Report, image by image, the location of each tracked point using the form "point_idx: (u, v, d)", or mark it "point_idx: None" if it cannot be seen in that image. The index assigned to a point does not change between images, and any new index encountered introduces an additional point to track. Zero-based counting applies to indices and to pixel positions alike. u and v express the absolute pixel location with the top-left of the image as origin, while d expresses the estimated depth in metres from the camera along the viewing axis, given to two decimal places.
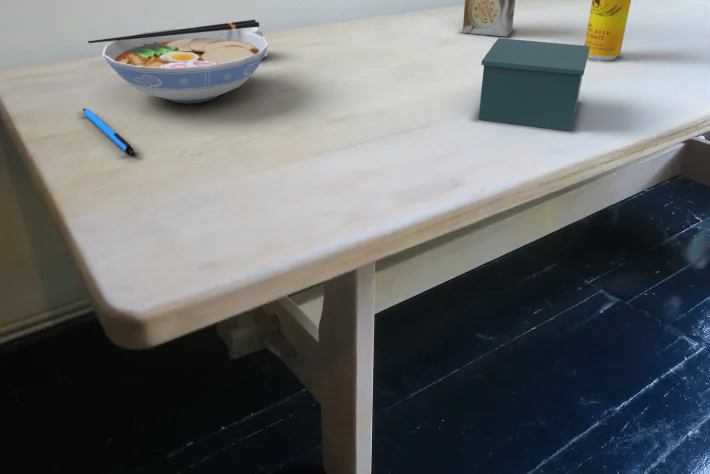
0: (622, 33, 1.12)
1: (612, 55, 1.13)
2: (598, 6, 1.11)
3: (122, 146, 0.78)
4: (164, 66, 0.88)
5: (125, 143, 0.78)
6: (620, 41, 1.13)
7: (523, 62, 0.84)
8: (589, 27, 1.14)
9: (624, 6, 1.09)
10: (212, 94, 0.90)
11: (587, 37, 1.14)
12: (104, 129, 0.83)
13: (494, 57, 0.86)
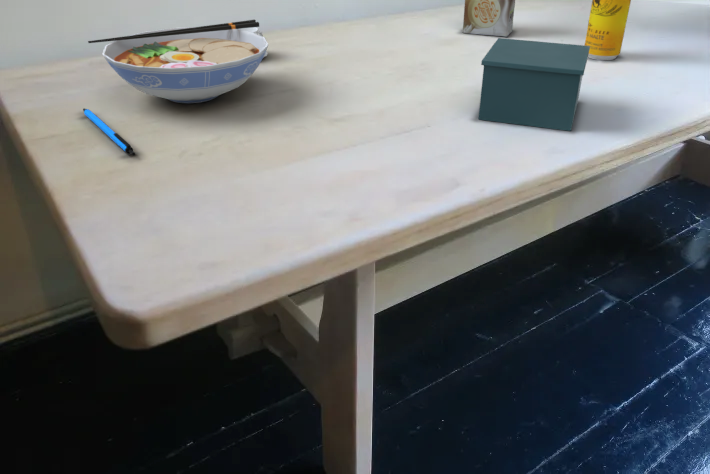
0: (622, 33, 1.12)
1: (612, 55, 1.13)
2: (598, 6, 1.11)
3: (122, 146, 0.78)
4: (164, 66, 0.88)
5: (125, 143, 0.78)
6: (620, 41, 1.13)
7: (523, 62, 0.84)
8: (589, 27, 1.14)
9: (624, 6, 1.09)
10: (212, 94, 0.90)
11: (587, 37, 1.14)
12: (104, 129, 0.83)
13: (494, 57, 0.86)
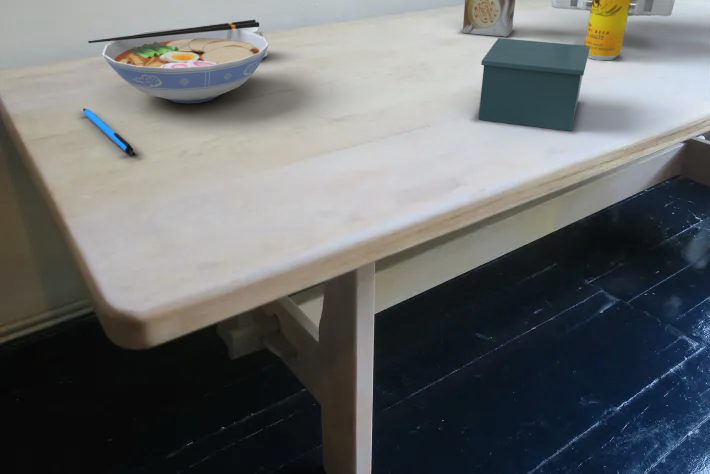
0: (622, 33, 1.12)
1: (612, 55, 1.13)
2: (598, 6, 1.11)
3: (122, 146, 0.78)
4: (164, 66, 0.88)
5: (125, 143, 0.78)
6: (620, 41, 1.13)
7: (523, 62, 0.84)
8: (589, 27, 1.14)
9: (624, 6, 1.09)
10: (212, 94, 0.90)
11: (587, 37, 1.14)
12: (104, 129, 0.83)
13: (494, 57, 0.86)
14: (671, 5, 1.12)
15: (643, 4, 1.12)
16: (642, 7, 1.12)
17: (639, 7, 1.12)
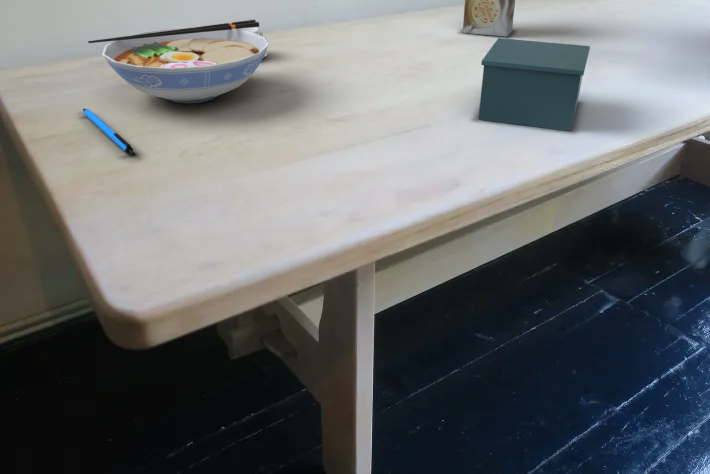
0: None
1: None
2: None
3: (122, 146, 0.78)
4: (164, 66, 0.88)
5: (125, 143, 0.78)
6: None
7: (523, 62, 0.84)
8: None
9: None
10: (212, 94, 0.90)
11: None
12: (104, 129, 0.83)
13: (494, 57, 0.86)
14: None
15: None
16: None
17: None
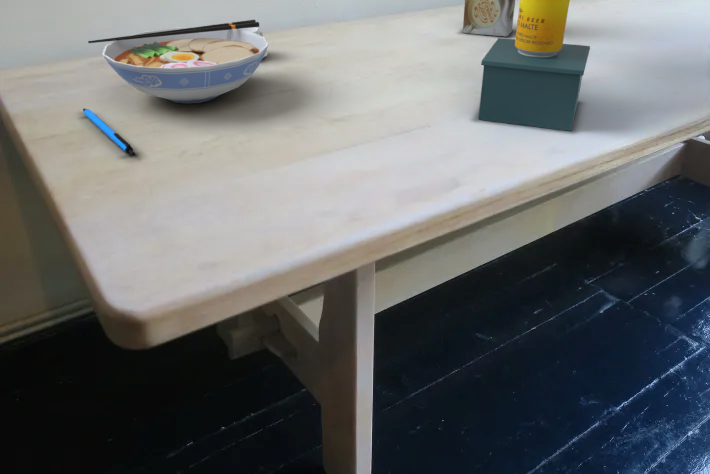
0: (563, 21, 0.84)
1: (550, 51, 0.85)
2: None
3: (122, 146, 0.78)
4: (164, 66, 0.88)
5: (125, 143, 0.78)
6: (560, 32, 0.85)
7: (523, 62, 0.84)
8: (520, 13, 0.85)
9: None
10: (212, 94, 0.90)
11: (518, 27, 0.86)
12: (104, 129, 0.83)
13: (494, 57, 0.86)
14: None
15: None
16: None
17: None
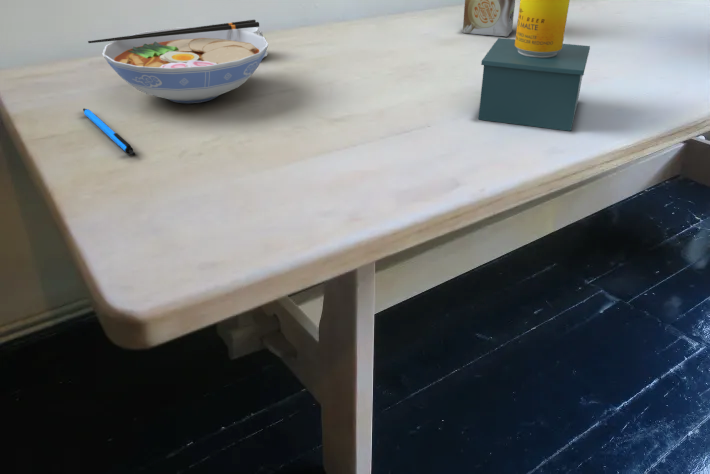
0: (563, 21, 0.84)
1: (550, 51, 0.85)
2: None
3: (122, 146, 0.78)
4: (164, 66, 0.88)
5: (125, 143, 0.78)
6: (560, 32, 0.85)
7: (523, 62, 0.84)
8: (520, 13, 0.85)
9: None
10: (212, 94, 0.90)
11: (518, 27, 0.86)
12: (104, 129, 0.83)
13: (494, 57, 0.86)
14: None
15: None
16: None
17: None
